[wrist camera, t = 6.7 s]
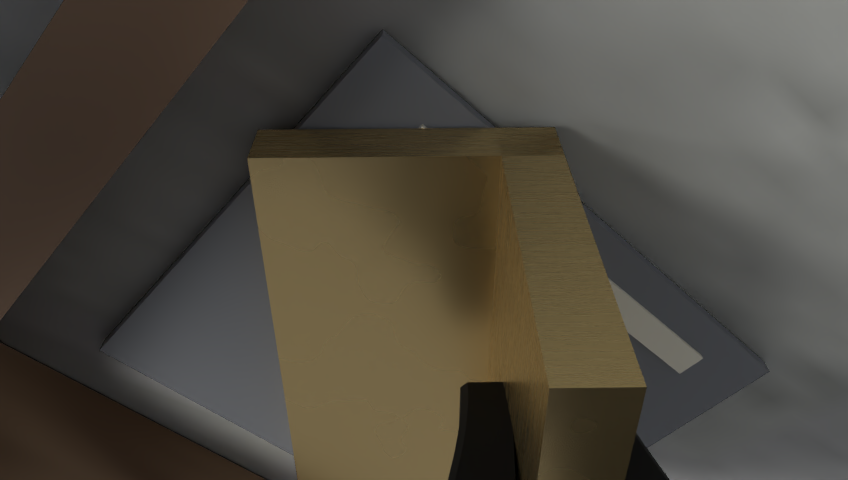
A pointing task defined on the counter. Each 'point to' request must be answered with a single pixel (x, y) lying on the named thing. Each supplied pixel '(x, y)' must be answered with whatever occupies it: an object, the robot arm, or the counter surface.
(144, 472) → the corner walls
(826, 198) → the counter surface
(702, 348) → the mat
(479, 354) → the bronze bracket
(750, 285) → the counter surface
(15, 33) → the counter surface
